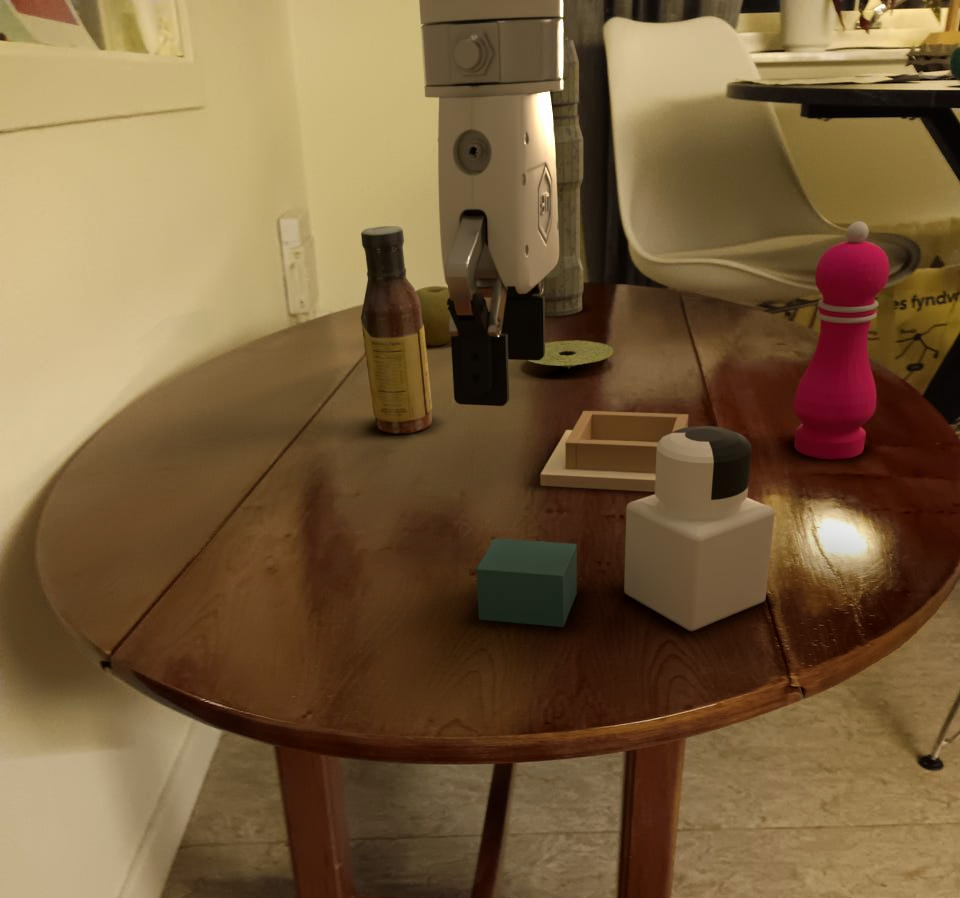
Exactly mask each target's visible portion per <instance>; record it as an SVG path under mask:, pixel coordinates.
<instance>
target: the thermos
mask: <svg viewBox="0 0 960 898" xmlns="http://www.w3.org/2000/svg"><path fill="white" fill-rule="evenodd" d="M576 50H577V49H576V47H575V43H574V40H573V39H569V38H568V36H563V78H562V79H563V90H561V91H557V92H550V99H551V107H552V115H553V126H554V139H555V155H556V178H557V203H558V229H559V259H558V262H557V264H556V266H555V267H554V268H553V269H552V270H551V271H550V272H549V273H548V274H547V275H546V276H545V277H544V290H543V294H542V295H535V296H545V317H564V316H569V315H574V314H577V313H579V312H581V311H582V310H583V298H582V297H583V293H584V267H583V263H582V260H581V255H580V254H581V252H580V250H581V246H580V245H581V242H580V241H581V238H580V237H581V235H580V233H581V231H580V230H581V228H580V225H581V224H580V223H581V222H580V221H581V217H580V216H581V215H580V214H581V213H580V212H581V208H580V207H581V199H580V197H581V194H580V193H581V185H582V183H583V180H584V136H583V134H582V130H581V127H580V115H579V114H578V104H579V102H580V62H579V58H578V54H577V51H576Z"/></svg>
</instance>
